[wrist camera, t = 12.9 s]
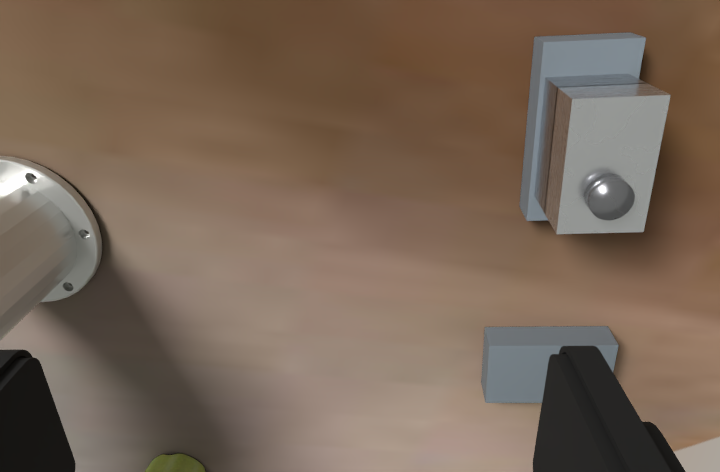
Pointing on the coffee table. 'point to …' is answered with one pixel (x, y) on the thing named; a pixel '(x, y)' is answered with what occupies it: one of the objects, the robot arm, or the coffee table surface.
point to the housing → (598, 152)
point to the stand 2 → (532, 358)
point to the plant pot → (175, 464)
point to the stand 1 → (570, 60)
